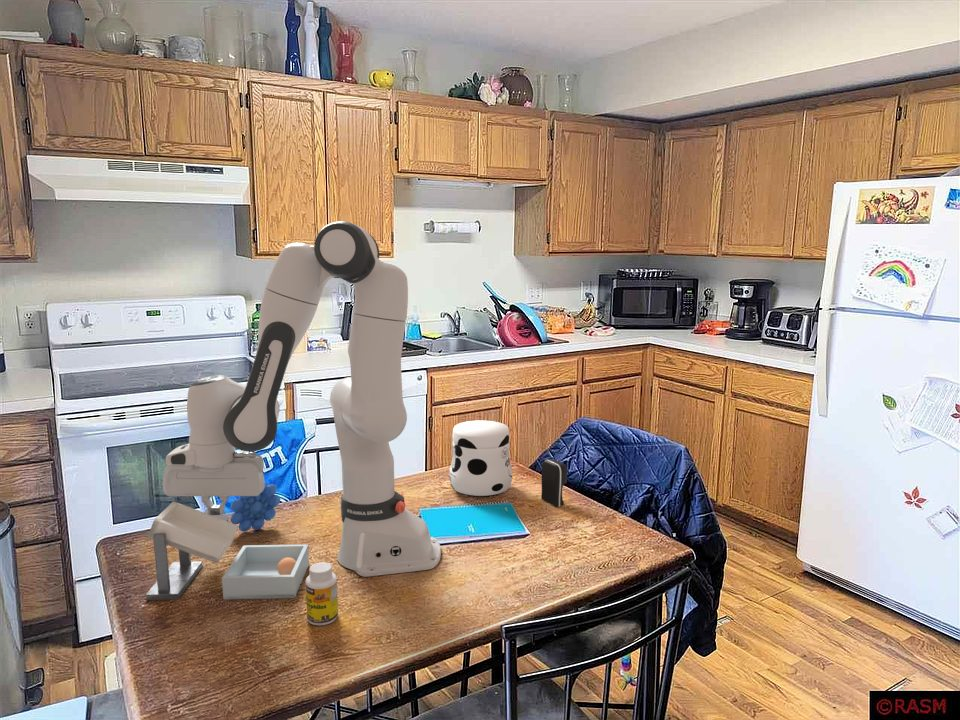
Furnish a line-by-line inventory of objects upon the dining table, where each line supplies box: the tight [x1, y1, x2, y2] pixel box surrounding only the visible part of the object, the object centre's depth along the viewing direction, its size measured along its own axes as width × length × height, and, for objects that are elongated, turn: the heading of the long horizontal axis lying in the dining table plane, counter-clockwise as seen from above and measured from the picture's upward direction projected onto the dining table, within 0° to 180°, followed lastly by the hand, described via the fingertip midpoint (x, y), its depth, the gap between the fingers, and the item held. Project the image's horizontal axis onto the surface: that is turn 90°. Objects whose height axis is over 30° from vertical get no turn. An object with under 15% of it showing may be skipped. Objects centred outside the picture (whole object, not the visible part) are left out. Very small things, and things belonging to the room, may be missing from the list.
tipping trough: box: [147, 500, 239, 564], centre depth 136 cm, size 14×16×4 cm
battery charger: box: [540, 458, 568, 508], centre depth 174 cm, size 7×4×11 cm, turn 34°
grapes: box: [229, 483, 281, 533], centre depth 158 cm, size 12×7×12 cm, turn 121°
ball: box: [277, 557, 296, 575], centre depth 135 cm, size 4×4×4 cm
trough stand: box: [145, 533, 204, 601], centre depth 133 cm, size 6×13×13 cm, turn 3°
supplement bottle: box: [305, 561, 339, 626], centre depth 121 cm, size 6×6×10 cm
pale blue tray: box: [221, 544, 310, 600], centre depth 135 cm, size 14×14×4 cm
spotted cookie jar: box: [448, 419, 513, 499], centre depth 182 cm, size 17×17×18 cm
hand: (216, 514), depth 142 cm, fingers closed
